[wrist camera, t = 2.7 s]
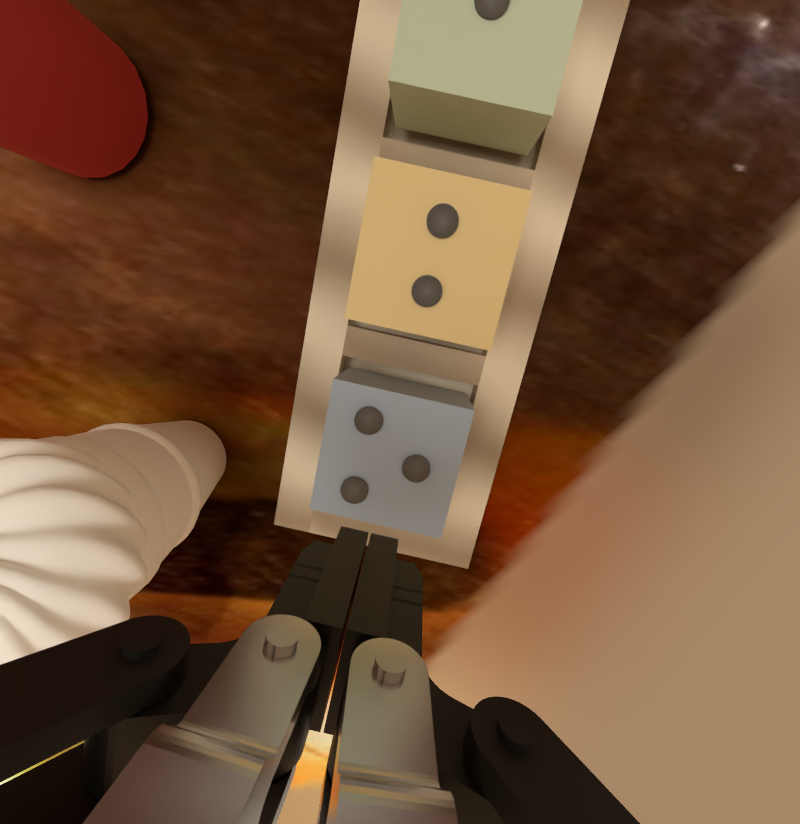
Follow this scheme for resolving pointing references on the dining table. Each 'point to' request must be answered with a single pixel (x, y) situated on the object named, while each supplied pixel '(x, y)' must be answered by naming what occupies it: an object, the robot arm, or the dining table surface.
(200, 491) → the soft serve ice cream cone
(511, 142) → the tile one
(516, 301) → the board
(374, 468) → the tile three
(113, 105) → the beer can
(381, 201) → the tile two
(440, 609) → the dining table surface
